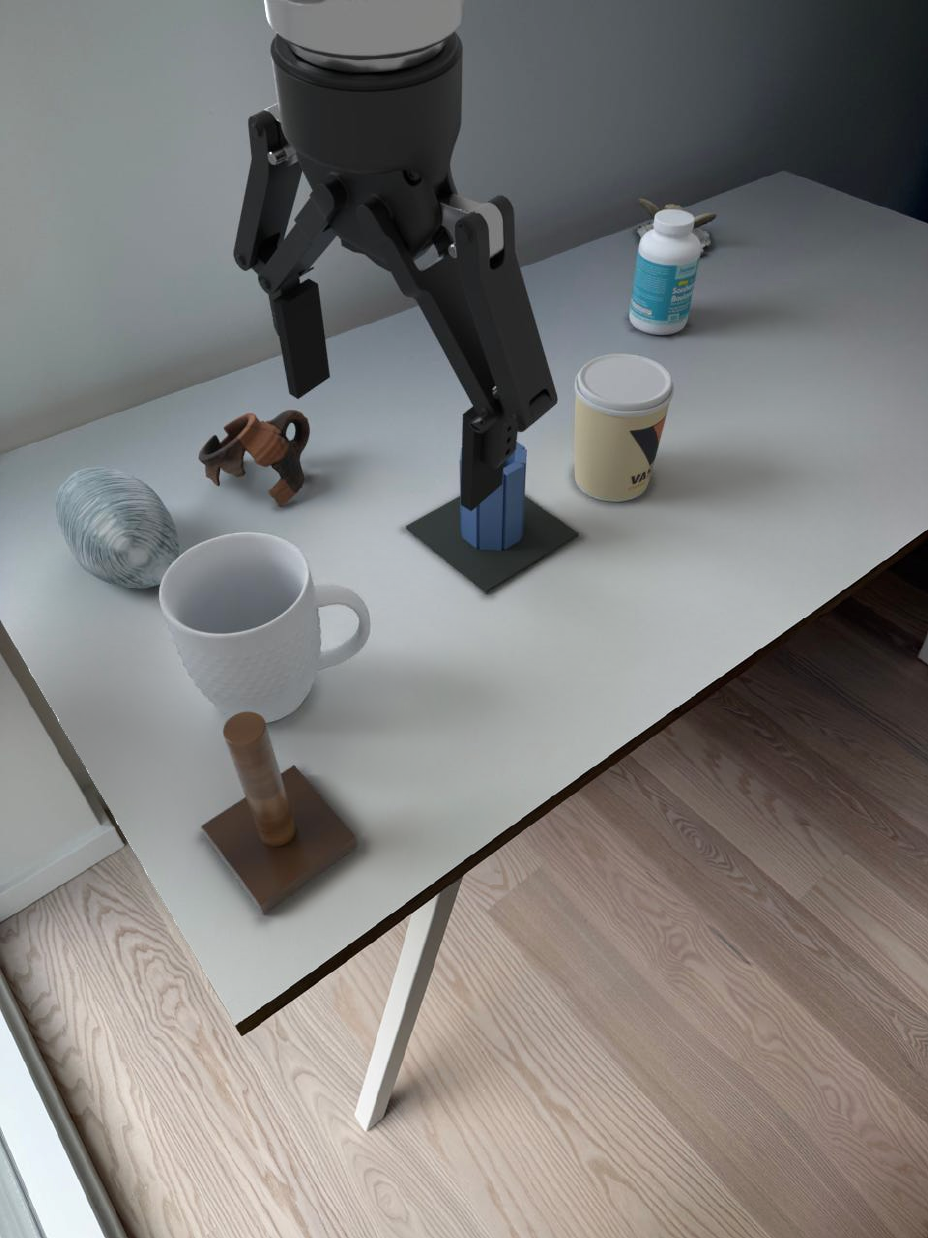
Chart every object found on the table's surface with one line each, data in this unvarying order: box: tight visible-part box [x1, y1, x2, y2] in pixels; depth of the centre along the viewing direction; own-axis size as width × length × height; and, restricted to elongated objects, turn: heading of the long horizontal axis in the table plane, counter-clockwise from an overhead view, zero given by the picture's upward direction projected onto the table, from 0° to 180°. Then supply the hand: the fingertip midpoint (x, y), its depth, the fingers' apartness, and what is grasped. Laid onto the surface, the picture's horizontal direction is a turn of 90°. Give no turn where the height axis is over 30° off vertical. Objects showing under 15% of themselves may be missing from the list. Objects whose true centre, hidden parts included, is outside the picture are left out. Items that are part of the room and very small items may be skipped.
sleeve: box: [459, 440, 528, 551], centre depth 84 cm, size 6×6×9 cm
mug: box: [158, 531, 372, 724], centre depth 70 cm, size 15×11×13 cm
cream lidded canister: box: [574, 353, 675, 503], centre depth 89 cm, size 9×9×12 cm
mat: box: [405, 495, 579, 594], centre depth 87 cm, size 12×12×1 cm
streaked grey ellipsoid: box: [55, 466, 181, 589], centre depth 83 cm, size 14×10×10 cm
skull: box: [636, 198, 718, 257], centre depth 128 cm, size 12×10×9 cm
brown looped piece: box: [198, 409, 311, 507], centre depth 92 cm, size 12×10×8 cm
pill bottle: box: [628, 209, 701, 336], centre depth 110 cm, size 8×7×14 cm
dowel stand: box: [200, 711, 358, 916], centre depth 60 cm, size 8×8×14 cm
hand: (391, 437), depth 52 cm, fingers open, 13 cm apart
